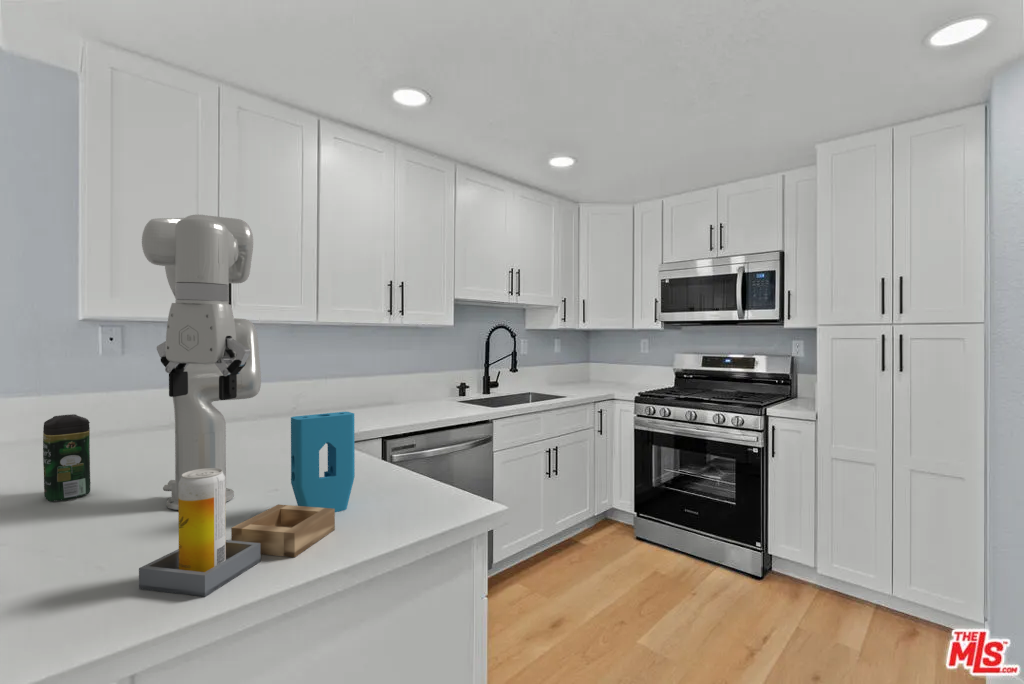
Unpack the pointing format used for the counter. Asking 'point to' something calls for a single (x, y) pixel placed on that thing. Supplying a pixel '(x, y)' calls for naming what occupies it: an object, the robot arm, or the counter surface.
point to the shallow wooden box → (286, 529)
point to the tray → (173, 580)
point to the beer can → (202, 519)
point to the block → (305, 448)
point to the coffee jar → (66, 457)
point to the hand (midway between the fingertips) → (203, 397)
